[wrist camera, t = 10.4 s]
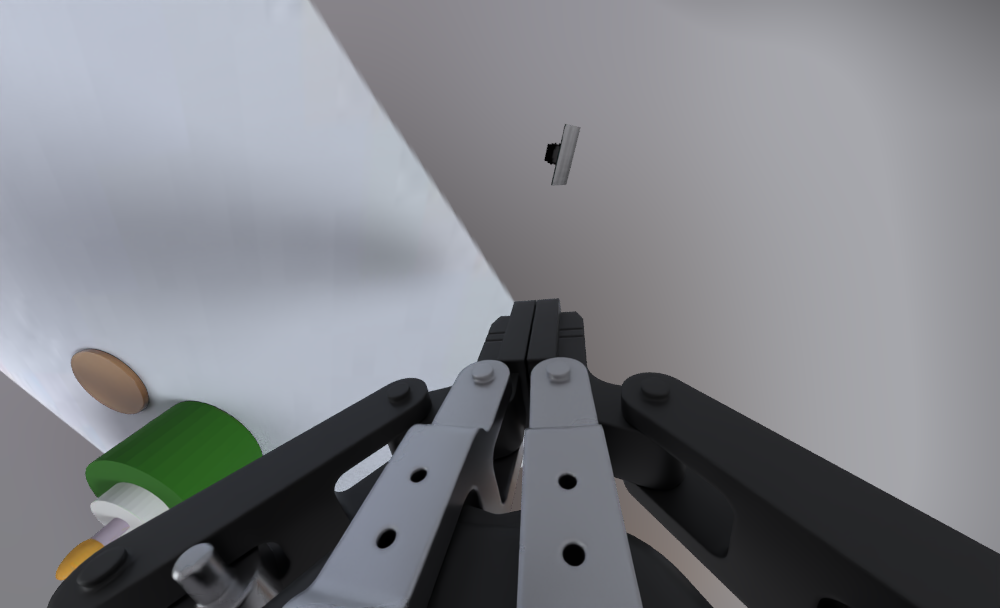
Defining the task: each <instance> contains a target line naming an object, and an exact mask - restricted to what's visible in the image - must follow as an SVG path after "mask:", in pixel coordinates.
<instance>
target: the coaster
mask: <svg viewBox="0 0 1000 608" xmlns="http://www.w3.org/2000/svg"><path fill="white" fill-rule="evenodd" d="M71 367H72V371H73V373H74V375H75V377H76V379H77V380H78V382H79V383H80V384H81V386H82V387H83V388H84V389H85V390H86V391H87V392H88V393H89V394H90V395H91V396H92V397H93V398H95V399H96V400H97V401H99V402H100V403H102V404H103V405H105V406H107V407H108V408H110V409H113V410H115V411H118V412H121V413H125V414H135V413H138V412H140V411H142V410H143V409H145V408H146V406H147V405H148V402H149V397H148V393H147V390H146V388H145V386H144V384H143V383H142V381H141V380H140V379H139V377H138V376H137V375H136V374H135V373H134V372H133V371H132V370H131V369H130V368H129V367H128V366H127V365H126V364H124V363H123V362H122V361H120V360H119V359H117V358H115V357H114V356H112V355H110V354H108V353H105V352H103V351H99V350H94V349H86V350H83V351H80V352H78V353H76V354H75V355H74V356H73V357H72V359H71Z"/></svg>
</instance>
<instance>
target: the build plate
mask: <svg viewBox="0 0 1000 608" xmlns="http://www.w3.org/2000/svg"><path fill="white" fill-rule="evenodd" d="M579 132H580V127H577V126H573V125H568V124H565V126H564V130H563V135H562V139H561V143H559V144H557V143H552V144H548V145H547V149H546V154H545V159H544V160H545V161H547V163H550V165H552V164H554V165H555V169H554V174H553V178H552V183H551V185H553V186H554V185H566V184H567V180H568V176H569V172H570V168H571V164H572V160H573V156H574V152H575V148H576V144H577V140H578V136H579Z"/></svg>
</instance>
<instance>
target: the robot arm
mask: <svg viewBox="0 0 1000 608" xmlns="http://www.w3.org/2000/svg"><path fill="white" fill-rule="evenodd" d="M524 430H525V435H524ZM523 437H524V448H523ZM386 444H388V446H389V448H390V451H391V453H392V457H391V459H390V460H389V461H388V462H387V463H385V464H384V465H382V466H381V467H380V468H378V469H377V470H375V471H374V472H372V473H371V474H370V475H368V476H367V477H365V478H364V479H362V480H361V481H360V482H358V483H357V484H355V485H354V486H353V487H351V488H350V489H348V490H346V491H343V492H336V491H334V488H335V484H336V482H337V480H338V479H339V478H340V476H341V475H342V474H344V473H345V472H346V471H348V470H349V469H351V468H352V467H354V466H355V465H357V464H358V463H360V462H361V461H363V460H364V459H366V458H367V457H369V456H370V455H372V454H373V453H375V452H376V451H378V450H379V449H381V448H382V447H383V446H385V445H386ZM523 454H524V456H523ZM522 459H523V479H522V481H523V482H522V501H521V502H522V503H521V510H519V511H514V512H510V511H511V506H512V502H513V498H514V494H515V489H516V485H517V480H518V476H519V471H520V467H521V463H522ZM614 477H616V478H619V479H622V480H623V481H624V484H625V486H626V488H627V490H628V491H629V493H630V494H631V495H632V496H633V497H634V498H635V499H636V500H637V501H638V502H639V503H640V504H641V505H642V506H644V507H645V508H646V509H647V510H648V511H649V512H650V513H651V514H652V515H653V516H654V517H655V518H656V519H657V520H658V521H659V522H660V523H661V524H662V525H663V526H664V527H665V528H666V529H667V530H668V531H669V532H670V533H671V534H672V535H673V536H675V538H677V539H678V540H679V541H680V542H681V543H682V544H683V545H684V546H685V547H686V548H687V549H688V550H689V551H690V552H691V553H692V554H693V555H694V556H695V557H696V558H697V559H698V560H699V561H700V562H701V563H702V564H703V565H704V566H706V568H708V569H709V570H710V571H711V572H712V573H713V574H714V575H715V576H716V577H717V578H718V579H719V580H720V581H721V582H722V583H723V584H724V585H725V586H726V587H727V588H728V589H729V590H730V591H731V592H732V593H733V594H734V595H735V596H737V598H739V600H741V601H742V602H743V603H744V604H745V605H746V606H747V607H748V608H1000V554H999V553H997V552H995V551H993V550H991V549H989V548H988V547H986V546H984V545H982V544H980V543H978V542H977V541H975V540H973V539H971V538H969V537H967V536H966V535H964V534H962V533H960V532H958V531H956V530H954V529H952V528H951V527H949V526H947V525H945V524H943V523H941V522H940V521H938V520H936V519H934V518H932V517H930V516H929V515H927V514H925V513H923V512H921V511H919V510H918V509H916V508H914V507H912V506H910V505H908V504H907V503H905V502H903V501H901V500H899V499H897V498H895V497H894V496H892V495H890V494H888V493H886V492H884V491H882V490H881V489H879V488H877V487H875V486H873V485H872V484H870V483H868V482H866V481H864V480H862V479H860V478H859V477H857V476H855V475H853V474H851V473H849V472H848V471H846V470H844V469H842V468H840V467H838V466H836V465H835V464H833V463H831V462H829V461H827V460H825V459H824V458H822V457H820V456H818V455H816V454H814V453H812V452H811V451H809V450H807V449H805V448H803V447H801V446H800V445H798V444H796V443H794V442H792V441H790V440H788V439H786V438H784V437H783V436H781V435H779V434H777V433H776V432H774V431H772V430H770V429H768V428H766V427H764V426H763V425H761V424H759V423H757V422H755V421H753V420H751V419H750V418H748V417H746V416H744V415H742V414H741V413H739V412H737V411H735V410H733V409H731V408H729V407H728V406H726V405H724V404H722V403H720V402H718V401H717V400H715V399H713V398H711V397H709V396H707V395H705V394H704V393H702V392H699V391H698V390H696V389H694V388H692V387H691V386H689V385H687V384H685V383H683V382H681V381H680V380H678V379H676V378H674V377H671V376H668V375H665V374H661V373H650V372H649V373H640V374H636V375H633V376H631V377H629V378H628V379H626V380H625V381H624V383H623V384H622V386H620V385H614V384H610V383H607V382H604V381H601V380H599V379H598V378H596V377H595V376H593V375H592V374H591V373H590V371H589V370H588V368H587V361H586V349H585V338H584V325H583V318H582V317H581V316H580V315H579V314H578V313H577V312H561V308H560V300H559V298H557V299H545V300H537V301H536V300H531V301H518V302H514V305H513V308H512V312H511V315H510V316H501V317H499V318H498V319H497V320H496V321H495V322H494V323H493V324H492V325H491V327H490V330H489V332H488V335H487V338H486V342H485V343H484V345H483V348H482V350H481V353H480V356H479V358H478V361H477V362H475V363H473V364H471V365H469V366H467V367H466V368H464V369H463V370H462V371H461V372H460V373H459V375H458V377H457V378H456V380H455V382H454V384H453V386H450V387H447V388H443V389H439V390H435V391H430V392H428V389H427V386H426V384H425V382H424V381H422V380H420V379H416V378H406V379H401V380H398V381H395V382H392V383H390V384H388V385H387V386H385V387H383V388H381V389H380V390H378V391H376V392H374V393H373V394H371V395H369V396H367V397H366V398H364V399H362V400H360V401H359V402H357V403H355V404H353V405H352V406H350V407H348V408H346V409H344V410H343V411H341V412H339V413H337V414H336V415H334V416H332V417H330V418H329V419H327V420H325V421H323V422H322V423H320V424H318V425H316V426H315V427H313V428H311V429H309V430H308V431H306V432H304V433H302V434H300V435H299V436H297V437H295V438H293V439H292V440H290V441H288V442H286V443H285V444H283V445H281V446H279V447H278V448H276V449H274V450H272V451H271V452H269V453H267V454H265V455H264V456H262V457H260V458H258V459H257V460H255V461H253V462H251V463H249V464H248V465H246V466H244V467H242V468H241V469H239V470H237V471H235V472H234V473H232V474H230V475H228V476H227V477H225V478H223V479H221V480H220V481H218V482H216V483H214V484H213V485H211V486H209V487H207V488H205V489H204V490H202V491H200V492H198V493H197V494H195V495H193V496H191V497H190V498H188V499H186V500H184V501H183V502H181V503H179V504H177V505H176V506H174V507H172V508H170V509H169V510H167V511H165V512H163V513H162V514H160V515H158V516H156V517H154V518H153V519H151V520H149V521H147V522H146V523H144V524H142V525H140V526H139V527H137V528H135V529H133V530H132V531H130V532H128V533H126V534H125V535H123V536H121V537H119V538H118V539H116V540H114V541H112V542H111V543H109V544H107V545H106V546H104V547H103V548H101V549H100V550H98V551H97V552H95V553H94V554H93V555H91V556H90V557H89V558H87V559H86V560H85V561H84V562H83V563H81V564H80V565H79V566H78V567H77V568H76V569H75V570H74V571H73V572H72V573H71V574H70V575H69V576H68V577H67V578H66V579H65V580H64V581H63V582H62V584H61V585H60V586H59V587H58V588H57V590H56V591H55V593H54V594H53V596H52V598H51V599H50V602H49V604H48V607H47V608H713V607H712V606H711V605H710V604H709V602H708V601H707V600H706V599H705V598H704V597H703V596H702V595H701V594H700V593H699V591H698V590H697V589H696V588H695V587H694V586H693V585H692V584H691V583H690V582H689V580H688V579H687V578H686V577H685V576H684V575H683V574H682V573H681V572H680V571H679V570H678V569H677V568H676V567H675V566H674V565H673V564H672V563H671V562H670V561H669V560H668V559H666V558H665V557H664V556H663V555H662V554H660V553H659V552H658V551H656V550H655V549H653V548H652V547H651V546H650V545H648V544H646V543H645V542H643V541H641V540H640V539H638V538H636V537H635V536H633V535H631V534H628V533H626V529H625V525H624V520H623V516H622V512H621V507H620V502H619V498H618V493H617V489H616V484H615V480H614Z"/></svg>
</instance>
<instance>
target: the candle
mask: <svg viewBox="0 0 1000 608" xmlns="http://www.w3.org/2000/svg"><path fill="white" fill-rule="evenodd" d="M262 456H263V455H262V452H261V449H260V447H259V445H258V443H257V441H256V440H255V438H254V437H253V436H252V434H251V433H250V432H249V431H248V430H247V429H246V428H245V427H244V426H243V425H242V424H241V423H240V422H238V421H237V420H236V419H235V418H233V417H232V416H230V415H229V414H227V413H226V412H224V411H222V410H220V409H218V408H216V407H213V406H211V405H208V404H205V403H201V402H195V401H185V402H180V403H178V404H176V405H174V406H173V407H171V408H170V409H168V410H167V411H166V412H164V413H163V414H161V415H160V416H158V417H157V418H155V419H154V420H153V421H151V422H150V423H148V424H147V425H145V426H144V427H142V428H141V429H139V430H138V431H137V432H135V433H134V434H132V435H131V436H129V437H128V438H126V439H125V440H124V441H122V442H121V443H119V444H118V445H116V446H115V447H113V448H112V449H111V450H109V451H108V452H106V453H105V454H103V455H102V456H101V457H99V458H97V459H96V460H95V461H93V462H92V463H90V464H89V465H88V467H87V468H86V473H85V474H86V479H87V482H88V484H89V486H90V488H91V489H92V491H93V492H94V494H95V495H96V496H97V497H98V499H96V500H95V501H94V502H93V503H92V504H91V511H92V513H93V514H94V516H95V517H96V518H97V519H98V520H99V521H100V522H101V523H102V524H103V525H104V526H105V527H103V528H102V529H101V530H100V531H99V532H97V533H96V534H95V535H94V536H93V537H91V538H90V539H88V540H86V541H84V542H82V543H80V544H79V545H78V546H76V547H75V548H74V549H73V550H72V551H71V552H70V553H69V554H68V555H67V556H66V557H65V558H64V560H63V561H62V562H61V564H60V565H59V567H58V569H57V571H56V578H57V579H58V580H65V579H66V578H67V577H68V576H69V575H70V574H71V573H72V572H73V571H74V570H75V569H76V568H77V567H78V566H79V565H80V564H81V563H83V562H84V561H85V560H86V559H87V558H89V557H90V556H91V555H93V554H94V553H95V552H97V551H98V550H100V549H101V548H103V547H104V546H106V545H107V544H109V543H111V542H112V541H114V540H116V539H118V538H119V537H120V536H123V535H125V534H126V533H128V532H130V531H132V530H133V529H135V528H137V527H139V526H140V525H142V524H144V523H146V522H147V521H149V520H151V519H153V518H154V517H156V516H158V515H160V514H162V513H163V512H165V511H167V510H169V509H170V508H172V507H174V506H176V505H177V504H179V503H181V502H183V501H184V500H186V499H188V498H190V497H191V496H193V495H195V494H197V493H198V492H200V491H202V490H204V489H205V488H207V487H209V486H211V485H213V484H214V483H216V482H218V481H220V480H221V479H223V478H225V477H227V476H228V475H230V474H232V473H234V472H235V471H237V470H239V469H241V468H242V467H244V466H246V465H248V464H249V463H251V462H253V461H255V460H257V459H258V458H260V457H262Z"/></svg>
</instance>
